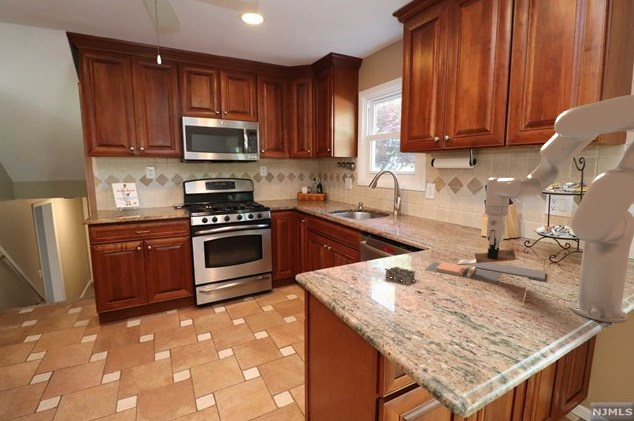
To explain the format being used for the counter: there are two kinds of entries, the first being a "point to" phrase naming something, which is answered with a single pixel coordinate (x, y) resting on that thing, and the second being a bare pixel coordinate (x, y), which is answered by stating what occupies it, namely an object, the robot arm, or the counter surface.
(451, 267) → the tile
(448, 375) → the counter surface
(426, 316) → the counter surface
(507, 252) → the turner
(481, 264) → the slate board
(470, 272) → the tile mat
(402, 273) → the mottled grey block
